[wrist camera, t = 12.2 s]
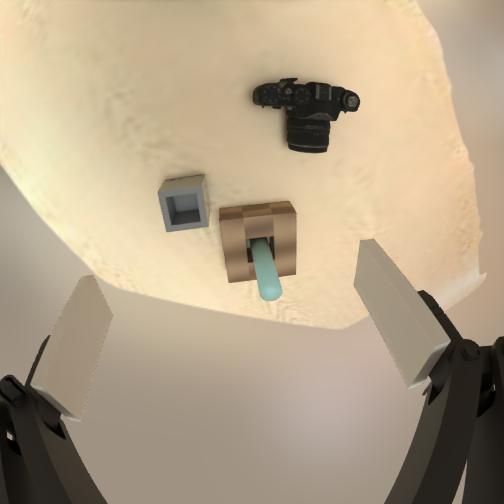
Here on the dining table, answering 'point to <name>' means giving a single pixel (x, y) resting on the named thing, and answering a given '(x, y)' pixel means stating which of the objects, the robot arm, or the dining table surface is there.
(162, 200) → the pen cup
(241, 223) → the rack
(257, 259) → the dowel
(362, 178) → the dining table surface
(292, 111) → the camera
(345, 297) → the dining table surface
